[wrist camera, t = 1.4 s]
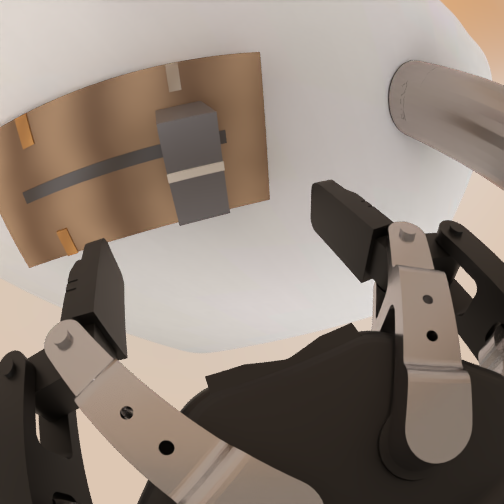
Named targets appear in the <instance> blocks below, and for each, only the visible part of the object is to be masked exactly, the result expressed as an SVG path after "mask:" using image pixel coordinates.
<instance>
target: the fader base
mask: <svg viewBox="0 0 504 504" xmlns="http://www.w3.org/2000/svg"><path fill="white" fill-rule="evenodd" d="M198 101H202V102H203V103H205V104H206V105H207V106H209V107H210V108H212V109H213V110H215V111H216V112H217V120H218V128H219V135H220V143H221V151H222V158H223V161H224V168H225V170H224V173H225V181H226V188H227V195H228V202H229V209H231V208H235V207H240V206H244V205H248V204H252V203H257V202H261V201H265V200H270V195H269V177H268V160H267V144H266V128H265V114H264V100H263V86H262V73H261V61H260V52H252V53H239V54H228V55H219V56H211V57H204V58H197V59H191V60H185V61H180V62H174V63H169V64H165V65H160V66H156V67H151V68H147V69H143V70H139V71H136V72H132V73H128V74H125V75H121V76H118V77H115V78H111V79H108V80H105V81H102V82H99V83H96V84H93V85H90V86H88V87H85V88H82V89H80V90H77V91H74V92H72V93H69V94H67V95H64V96H62V97H60V98H57V99H55V100H53V101H51V102H48V103H46V104H44V105H42V106H40V107H38V108H36V109H33V110H31V111H29V112H27V113H25V114H24V115H22V116H20V117H18V118H16V119H14V120H12V121H11V122H9V123H7V124H5V125H4V126H2V127H0V214H1V216H2V218H3V220H4V222H5V224H6V226H7V228H8V230H9V232H10V234H11V236H12V238H13V240H14V242H15V244H16V246H17V247H18V249H19V251H20V253H21V254H22V256H23V258H24V260H25V261H26V263H27V265H28V266H29V268H31V267H33V266H36V265H39V264H42V263H45V262H48V261H51V260H54V259H57V258H60V257H63V256H66V255H68V256H70V255H73V254H76V253H78V251H81V250H84V246H85V244H87V243H90V242H93V241H96V240H99V239H102V238H105V239H106V241H107V242H110V241H113V240H117V239H120V238H124V237H127V236H130V235H134V234H137V233H141V232H144V231H148V230H151V229H155V228H158V227H162V226H166V225H169V224H173V223H177V222H179V221H178V217H177V213H176V209H175V205H174V201H173V197H172V193H171V189H170V185H169V183H168V178H167V172H166V168H165V163H164V159H163V154H162V149H161V145H160V140H159V135H158V130H157V125H156V112H155V111H156V110H160V109H165V108H169V107H173V106H178V105H182V104H187V103H192V102H198Z"/></svg>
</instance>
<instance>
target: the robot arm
mask: <svg viewBox="0 0 504 504" xmlns="http://www.w3.org/2000/svg"><path fill="white" fill-rule="evenodd" d="M389 106H390V112H391V115H392V118H393V121H394V123H395V125H396V126H397V128H398V129H399V130H400V131H401V132H403V133H404V134H406V135H408V136H410V137H412V138H414V139H416V140H418V141H420V142H422V143H424V144H426V145H428V146H430V147H432V148H434V149H436V150H438V151H440V152H442V153H443V154H445V155H447V156H449V157H451V158H453V159H454V160H456V161H458V162H460V163H461V164H463V165H465V166H466V167H468V168H470V169H471V170H473V171H475V172H476V173H478V174H480V175H481V176H483V177H484V178H486V179H487V180H489V181H490V182H492V183H493V184H495V185H496V186H498V187H499V188H501V189H502V190H504V85H501V84H499V83H496V82H493V81H491V80H488V79H485V78H482V77H479V76H476V75H473V74H469V73H466V72H463V71H459V70H456V69H452V68H448V67H445V66H440V65H436V64H432V63H427V62H422V61H417V60H414V61H409V62H406V63H405V64H403V65H402V66H401V67H400V68H399V69H398V70H397V72H396V73H395V75H394V78H393V80H392V83H391V87H390V93H389ZM311 223H312V226H313V228H314V230H315V232H316V233H317V234H318V235H319V236H320V237H321V238H322V239H323V240H324V242H325V243H326V244H327V245H328V246H329V247H330V248H331V249H332V250H333V251H334V253H335V254H336V255H337V256H338V257H339V258H340V259H341V260H342V261H343V263H344V264H345V265H346V266H347V267H348V268H349V269H350V271H351V272H352V273H353V274H354V275H355V276H356V277H357V279H358V280H359V281H360V282H361V283H363V282H365V281H368V280H370V279H374V280H375V283H374V287H373V317H372V329H371V331H361V332H358V331H357V330H356V328H355V327H354V325H353V324H352V323H350V324H348V325H345V326H343V327H341V328H338V329H336V330H334V331H332V332H329V333H327V334H325V335H322V336H320V337H318V338H317V339H316V340H314V341H313V342H312V343H310V344H309V345H307V346H306V347H305V348H303V349H302V350H300V351H299V352H298V353H297V354H295V355H293V356H292V357H290V358H288V359H286V360H280V361H272V362H264V363H255V364H245V365H241V366H238V367H235V368H232V369H229V370H226V371H222V372H219V373H216V374H212V375H209V376H206V377H205V378H206V381H207V384H208V388H206V389H204V390H203V391H201V392H200V393H198V394H197V395H196V396H194V397H193V398H192V399H191V400H190V401H189V402H188V403H187V404H186V405H185V406H184V408H183V409H182V410H181V411H178V410H177V409H176V408H174V407H173V406H171V405H170V404H169V403H168V402H166V401H165V400H164V399H163V398H161V397H160V396H159V395H157V394H156V393H155V392H154V391H153V390H151V389H150V388H149V387H147V385H145V384H144V383H143V382H142V381H141V380H139V379H138V378H137V377H136V376H135V375H134V374H133V373H131V372H130V371H129V370H128V369H127V368H126V367H124V365H123V364H122V363H120V362H119V361H118V360H122V359H126V358H127V346H126V330H125V305H124V281H123V277H122V274H121V271H120V269H119V267H118V265H117V263H116V260H115V258H114V256H113V254H112V252H111V249H110V247H109V245H108V243H107V241H106V239H105V238H102V239H99V240H96V241H93V242H90V243H87V244H85V246H84V251H83V255H82V259H81V260H78V261H76V263H75V264H74V266H73V268H72V269H71V271H70V274H69V278H68V284H67V287H66V293H65V298H64V303H63V309H62V315H61V321H60V322H59V323H58V324H57V325H55V326H54V327H53V328H52V329H51V330H50V331H49V333H48V335H47V337H46V339H45V343H44V349H43V350H41V351H40V352H38V353H36V354H35V355H33V356H31V357H30V358H28V359H27V358H26V357H25V356H24V355H23V354H22V353H21V352H20V351H11V352H9V353H8V354H6V355H5V356H4V357H3V359H2V360H1V362H0V504H93V503H92V499H91V496H90V492H89V488H88V484H87V479H86V475H85V470H84V465H83V459H82V454H81V448H80V441H79V434H78V427H77V418H76V409H78V408H80V409H81V410H82V412H83V413H84V414H85V415H86V416H87V418H88V419H89V420H90V421H91V422H92V424H93V425H94V426H95V427H96V428H97V429H98V430H99V432H101V434H102V435H103V436H104V437H105V438H106V439H107V440H108V441H109V442H110V443H111V444H112V446H113V447H114V448H116V450H117V451H118V452H119V453H120V454H121V455H122V456H123V457H124V458H125V459H126V460H127V461H129V462H130V463H131V464H132V465H133V466H134V467H135V468H136V469H137V470H138V471H139V472H140V473H142V474H143V475H144V476H145V477H146V478H147V479H148V481H147V483H146V486H145V488H144V490H143V492H142V494H141V497H140V499H139V501H138V503H137V504H504V263H503V262H502V261H501V260H500V259H499V258H498V257H497V256H496V255H495V254H494V253H493V252H492V251H491V250H490V249H489V248H488V247H487V246H485V244H483V243H482V242H481V241H480V240H479V239H478V238H477V237H475V236H474V235H473V234H472V233H471V232H470V231H469V230H467V229H466V228H465V227H464V226H462V225H461V224H458V223H457V222H454V221H449V220H446V221H442V222H441V223H440V225H439V228H438V231H437V233H427V234H425V233H424V232H423V231H422V230H421V229H420V228H419V227H417V226H416V225H414V224H411V223H408V222H392V221H391V220H390V219H389V218H387V217H386V216H385V215H384V214H382V213H381V212H380V211H379V210H377V209H376V208H375V207H372V205H371V204H370V203H368V202H367V201H365V200H364V199H363V198H362V197H360V196H359V195H358V194H356V193H354V192H351V191H349V190H346V189H344V188H343V187H341V186H340V185H339V184H337V183H336V182H335V181H333V180H327V181H322V182H317V183H314V184H313V185H312V190H311ZM460 266H461V267H462V268H463V269H464V270H465V271H466V272H467V273H468V274H469V275H470V276H471V277H472V278H473V279H474V280H475V282H476V285H477V293H476V295H475V297H474V298H473V299H472V298H471V296H470V295H469V294H468V293H467V292H466V291H465V290H464V289H463V287H462V286H461V285H460V284H459V283H458V282H457V281H456V280H455V279H454V278H455V276H456V273H457V271H458V269H459V267H460ZM458 334H459V335H460V336H461V338H462V339H463V341H464V342H465V343H466V344H467V346H468V347H469V349H470V350H471V352H472V353H473V354H474V356H475V357H476V358H477V360H478V361H479V364H480V365H479V366H478V365H475V364H472V363H470V362H467V361H464V360H461V353H460V345H459V338H458ZM35 413H36V414H38V415H39V430H40V443H39V441H38V438H37V435H36V422H35V421H36V420H35Z"/></svg>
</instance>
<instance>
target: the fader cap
mask: <svg viewBox="0 0 504 504" xmlns="http://www.w3.org/2000/svg"><path fill="white" fill-rule="evenodd" d="M155 112H156V125H157V130H158V135H159V140H160V145H161V149H162V154H163V159H164V163H165V168H166V172H167V178H168V183H169V185H170V189H171V193H172V197H173V201H174V205H175V209H176V213H177V217H178V221H179V225H180V226H181V225H185V224H189V223H193V222H196V221H200V220H204V219H208V218H212V217H216V216H220V215H224V214H228V213H230V209H229V202H228V195H227V188H226V181H225V173H224V170H225V168H224V161H223V158H222V151H221V143H220V135H219V128H218V120H217V112H216V111H215V110H213V109H212V108H210V107H209V106H207V105H206V104H205V103H203V102H202V101H198V102H192V103H187V104H182V105H178V106H173V107H169V108H165V109H160V110H156V111H155Z"/></svg>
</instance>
